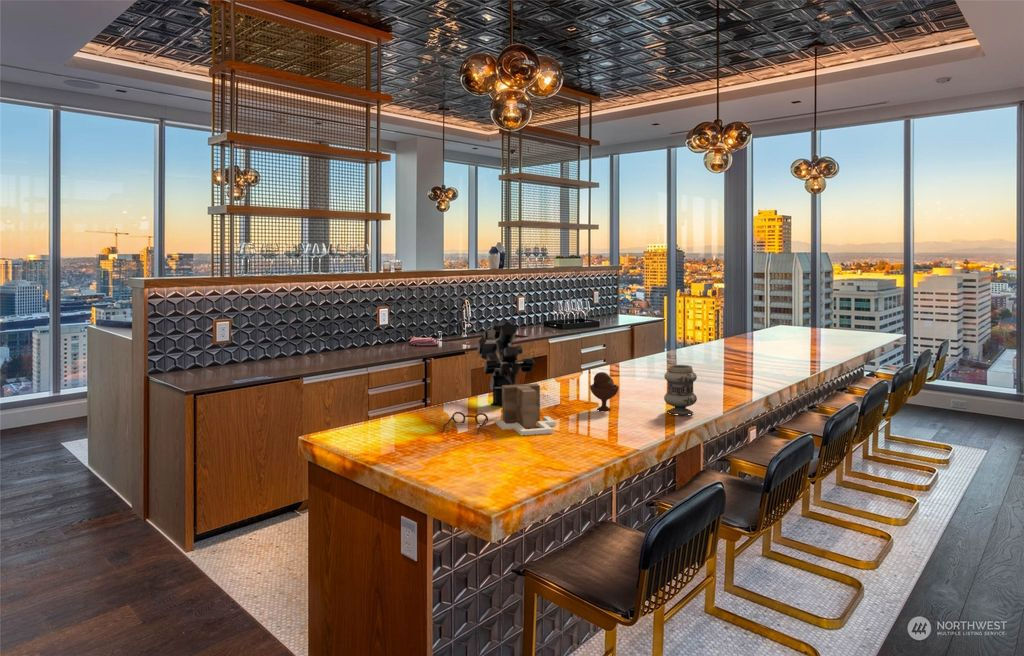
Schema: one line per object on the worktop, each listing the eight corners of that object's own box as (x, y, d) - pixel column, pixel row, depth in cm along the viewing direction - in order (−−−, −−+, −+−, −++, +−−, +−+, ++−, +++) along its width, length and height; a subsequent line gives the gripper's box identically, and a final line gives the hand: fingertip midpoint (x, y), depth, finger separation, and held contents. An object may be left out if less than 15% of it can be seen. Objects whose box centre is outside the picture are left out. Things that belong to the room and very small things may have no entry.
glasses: (488, 426, 230) (488, 412, 229) (478, 436, 217) (478, 421, 217) (453, 424, 233) (452, 410, 232) (441, 434, 220) (440, 419, 220)
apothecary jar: (670, 408, 255) (671, 362, 253) (701, 412, 248) (702, 365, 246) (658, 414, 245) (659, 366, 243) (689, 418, 238) (690, 369, 236)
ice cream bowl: (618, 414, 245) (618, 374, 244) (588, 412, 248) (588, 373, 246) (619, 407, 256) (619, 369, 254) (590, 406, 258) (590, 369, 256)
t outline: (496, 424, 231) (496, 419, 231) (548, 420, 237) (548, 416, 236) (509, 436, 215) (509, 432, 215) (564, 432, 220) (564, 427, 220)
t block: (502, 420, 236) (502, 385, 235) (536, 418, 239) (536, 383, 238) (511, 429, 224) (511, 392, 222) (547, 427, 227) (547, 390, 226)
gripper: (485, 339, 245) (492, 373, 236) (532, 337, 250) (541, 370, 241) (481, 356, 254) (487, 390, 244) (526, 354, 259) (535, 387, 249)
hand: (513, 384), depth 244 cm, fingers closed
